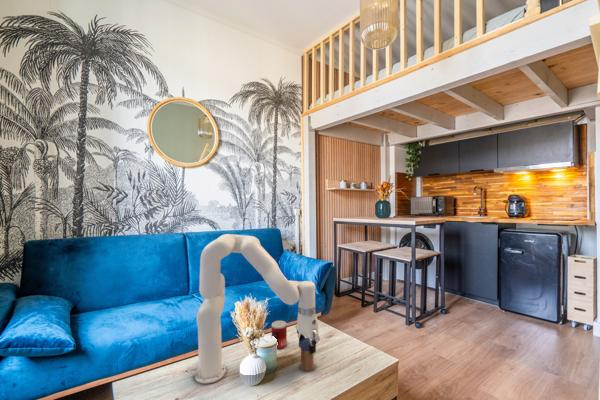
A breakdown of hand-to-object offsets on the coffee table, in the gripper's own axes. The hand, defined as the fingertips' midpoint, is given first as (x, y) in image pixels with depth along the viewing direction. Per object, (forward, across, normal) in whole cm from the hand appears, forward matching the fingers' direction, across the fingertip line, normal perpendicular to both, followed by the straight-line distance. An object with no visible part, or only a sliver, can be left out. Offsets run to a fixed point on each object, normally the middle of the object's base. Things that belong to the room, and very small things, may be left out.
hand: (307, 349), depth 124 cm
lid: (-3, 0, 0) cm, 3 cm away
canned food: (+8, +23, -1) cm, 25 cm away
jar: (+8, 0, 0) cm, 8 cm away
